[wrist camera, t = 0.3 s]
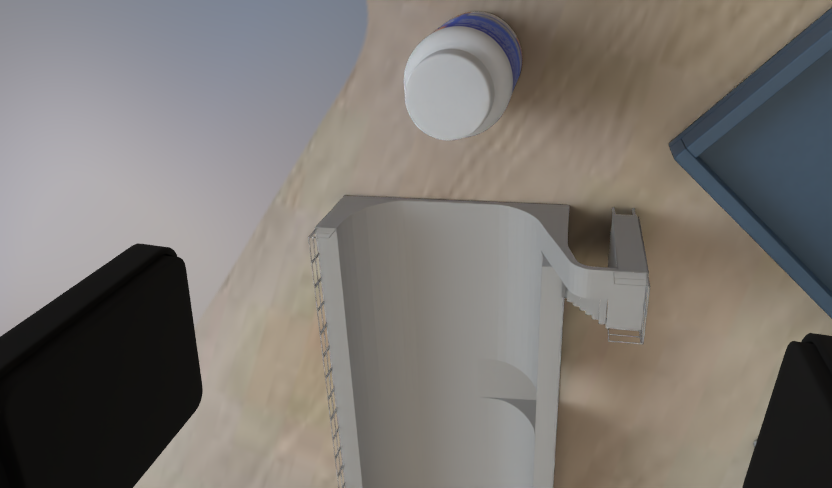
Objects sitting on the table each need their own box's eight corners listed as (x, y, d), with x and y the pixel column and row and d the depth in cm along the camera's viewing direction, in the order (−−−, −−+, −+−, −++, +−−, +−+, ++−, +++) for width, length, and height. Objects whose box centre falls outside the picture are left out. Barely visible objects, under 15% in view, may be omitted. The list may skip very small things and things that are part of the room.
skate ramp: (343, 194, 44) (283, 260, 35) (637, 207, 40) (652, 284, 31) (370, 480, 54) (329, 585, 46) (605, 513, 50) (609, 636, 42)
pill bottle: (450, -5, 37) (409, 14, 29) (539, 32, 37) (525, 62, 28) (418, 85, 40) (372, 128, 31) (501, 120, 40) (478, 172, 31)
